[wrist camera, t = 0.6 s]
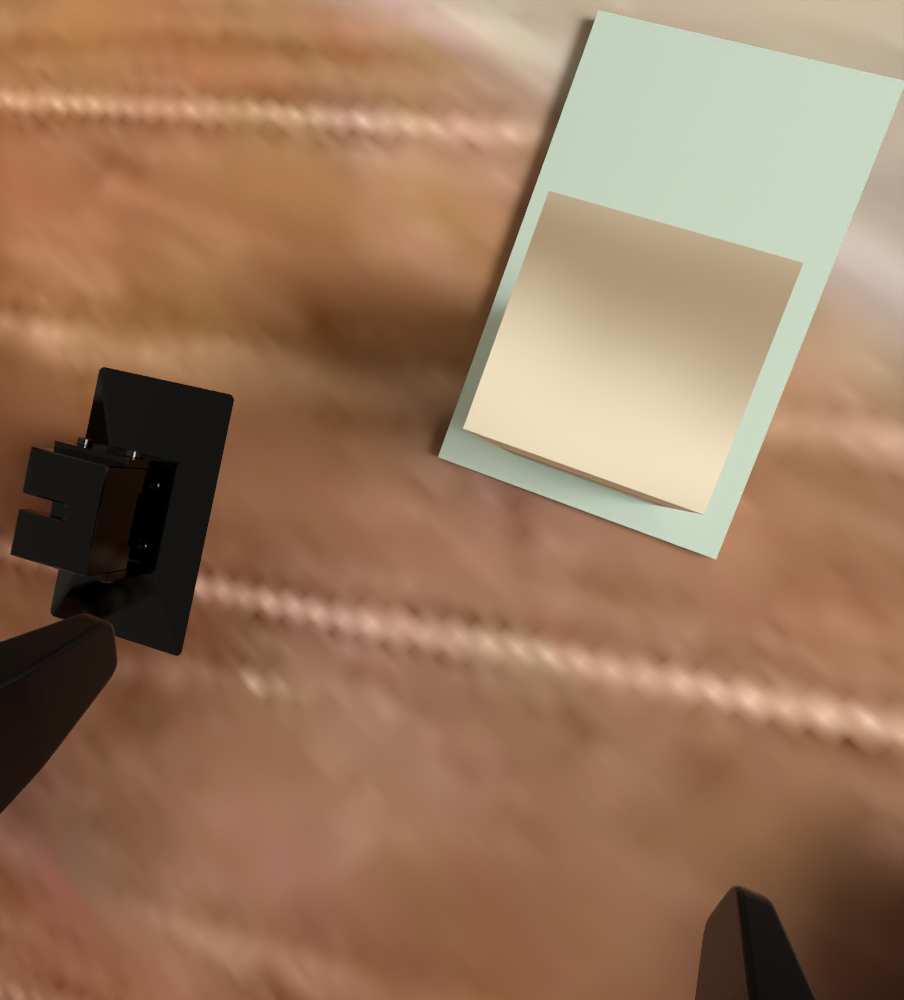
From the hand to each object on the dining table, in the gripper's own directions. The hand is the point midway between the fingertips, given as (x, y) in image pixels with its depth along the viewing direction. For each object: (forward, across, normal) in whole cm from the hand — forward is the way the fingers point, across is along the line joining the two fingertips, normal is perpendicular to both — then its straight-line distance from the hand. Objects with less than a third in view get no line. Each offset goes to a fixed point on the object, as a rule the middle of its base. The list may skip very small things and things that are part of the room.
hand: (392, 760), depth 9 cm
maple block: (+16, -1, +1) cm, 17 cm away
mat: (+19, -1, -3) cm, 19 cm away
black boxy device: (+13, +15, +9) cm, 22 cm away
